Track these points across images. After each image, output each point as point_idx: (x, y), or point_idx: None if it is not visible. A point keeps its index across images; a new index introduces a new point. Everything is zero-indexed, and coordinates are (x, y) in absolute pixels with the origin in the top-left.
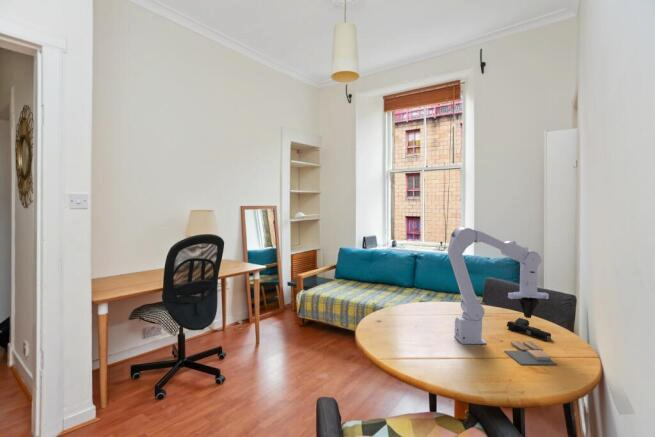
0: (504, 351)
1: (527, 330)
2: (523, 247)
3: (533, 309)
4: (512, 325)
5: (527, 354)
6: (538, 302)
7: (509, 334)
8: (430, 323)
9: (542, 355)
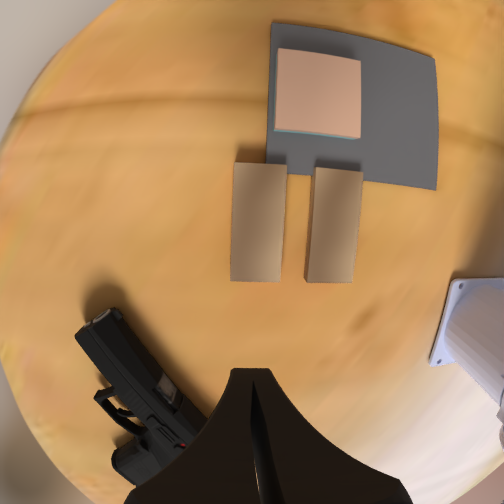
0: (434, 187)
1: (169, 396)
2: None
3: (211, 426)
4: None
5: None
6: (128, 499)
7: None
8: (468, 437)
9: (316, 66)
